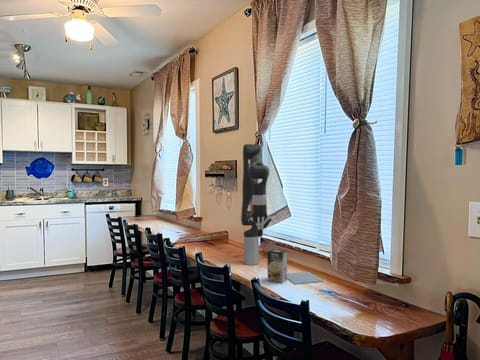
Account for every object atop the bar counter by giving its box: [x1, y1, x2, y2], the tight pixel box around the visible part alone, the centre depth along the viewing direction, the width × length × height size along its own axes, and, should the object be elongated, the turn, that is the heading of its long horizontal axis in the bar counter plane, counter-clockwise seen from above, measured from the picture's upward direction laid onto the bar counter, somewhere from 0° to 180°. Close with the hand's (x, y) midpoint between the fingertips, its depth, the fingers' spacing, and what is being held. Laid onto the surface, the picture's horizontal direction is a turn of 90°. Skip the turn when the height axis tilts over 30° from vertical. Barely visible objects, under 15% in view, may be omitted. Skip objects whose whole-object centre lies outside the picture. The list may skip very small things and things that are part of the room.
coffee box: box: [267, 248, 288, 284], centre depth 193 cm, size 9×6×16 cm
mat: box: [287, 271, 324, 285], centre depth 197 cm, size 18×16×1 cm
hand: (259, 236), depth 190 cm, fingers closed
